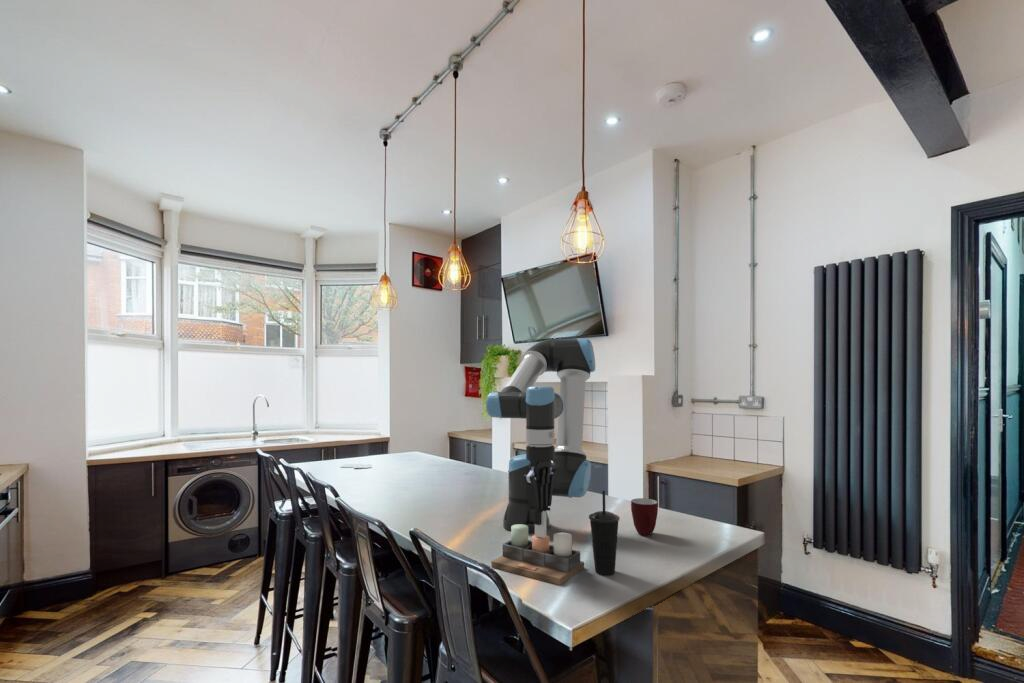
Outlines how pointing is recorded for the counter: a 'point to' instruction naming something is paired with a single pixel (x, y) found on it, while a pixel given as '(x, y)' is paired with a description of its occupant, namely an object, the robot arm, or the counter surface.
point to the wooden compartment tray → (538, 563)
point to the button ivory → (563, 545)
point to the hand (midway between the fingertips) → (540, 536)
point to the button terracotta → (540, 544)
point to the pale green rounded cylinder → (519, 535)
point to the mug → (644, 515)
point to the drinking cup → (604, 540)
